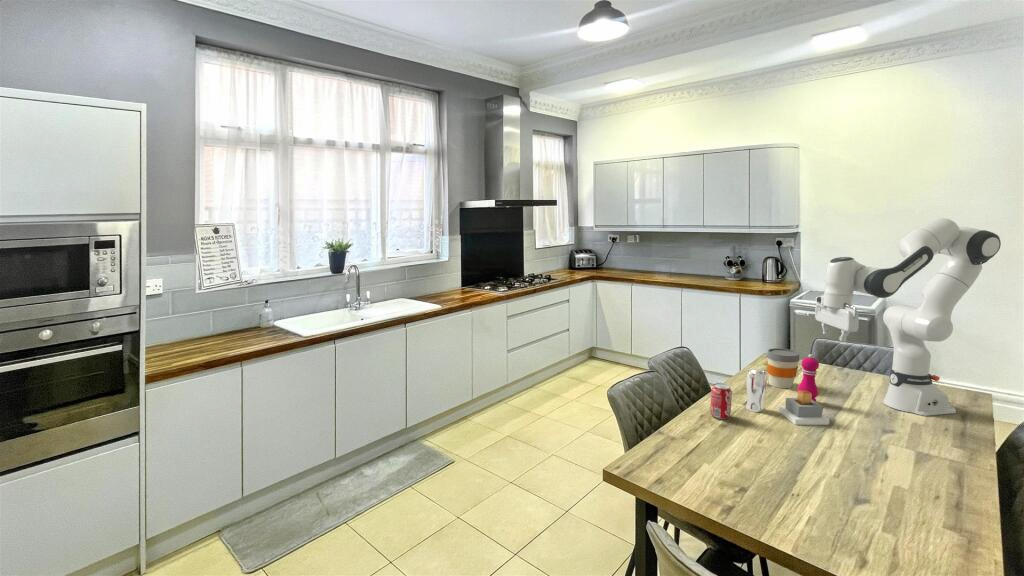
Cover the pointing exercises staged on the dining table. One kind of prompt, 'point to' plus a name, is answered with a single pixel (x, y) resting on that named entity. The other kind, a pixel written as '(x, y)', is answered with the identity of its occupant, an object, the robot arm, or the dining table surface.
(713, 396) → the soda can
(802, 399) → the pin
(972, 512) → the dining table surface
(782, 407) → the socket
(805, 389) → the pepper mill
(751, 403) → the clear waisted cup
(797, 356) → the reusable coffee cup
